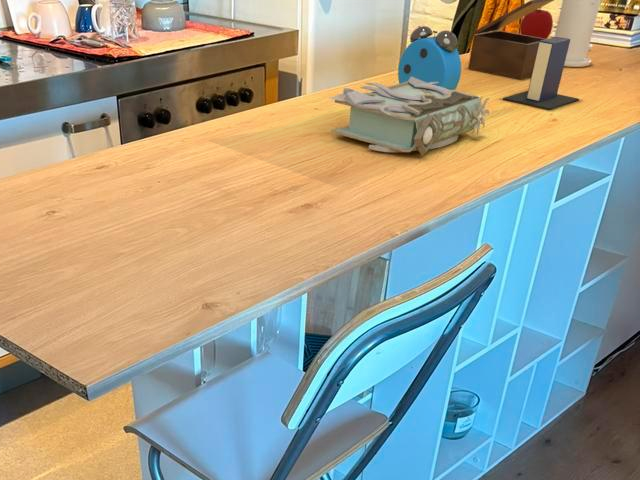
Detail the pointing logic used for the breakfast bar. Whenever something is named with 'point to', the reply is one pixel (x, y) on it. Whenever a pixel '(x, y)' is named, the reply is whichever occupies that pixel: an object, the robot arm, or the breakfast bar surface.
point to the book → (548, 68)
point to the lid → (513, 16)
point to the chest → (504, 54)
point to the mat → (546, 104)
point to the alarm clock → (431, 58)
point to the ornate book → (410, 115)
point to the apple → (537, 24)
